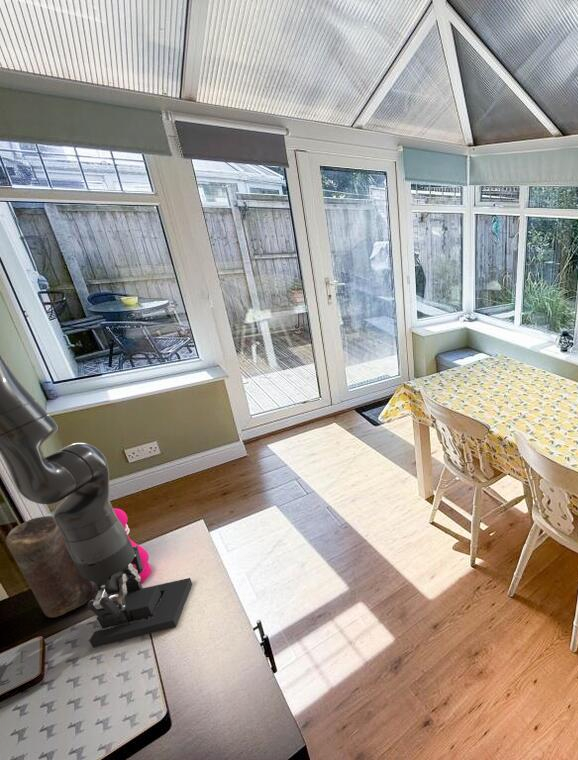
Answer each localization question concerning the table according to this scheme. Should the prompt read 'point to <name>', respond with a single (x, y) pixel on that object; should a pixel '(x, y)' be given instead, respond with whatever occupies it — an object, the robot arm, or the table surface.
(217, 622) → the table surface
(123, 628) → the black u-shaped piece
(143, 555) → the pepper mill
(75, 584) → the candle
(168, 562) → the table surface
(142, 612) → the black block
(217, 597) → the table surface
